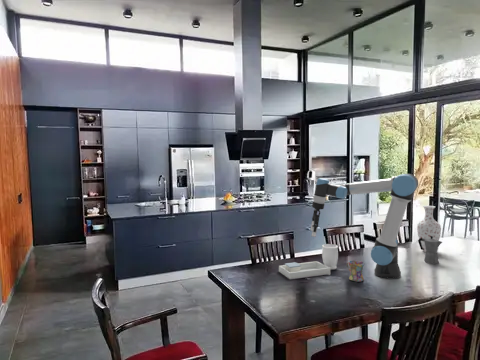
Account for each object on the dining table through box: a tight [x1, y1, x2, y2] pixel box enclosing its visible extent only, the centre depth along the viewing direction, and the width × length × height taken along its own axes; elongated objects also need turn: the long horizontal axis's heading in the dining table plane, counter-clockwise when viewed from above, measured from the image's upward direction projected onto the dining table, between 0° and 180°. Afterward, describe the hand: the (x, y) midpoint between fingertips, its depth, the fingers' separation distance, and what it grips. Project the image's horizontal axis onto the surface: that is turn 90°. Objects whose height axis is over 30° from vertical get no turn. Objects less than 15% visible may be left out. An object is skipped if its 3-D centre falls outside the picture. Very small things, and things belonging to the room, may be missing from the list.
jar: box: [321, 243, 339, 271], centre depth 231 cm, size 11×10×15 cm
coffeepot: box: [417, 236, 443, 264], centre depth 241 cm, size 15×9×18 cm, turn 44°
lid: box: [284, 261, 301, 268], centre depth 217 cm, size 8×8×1 cm
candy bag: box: [346, 259, 365, 282], centre depth 207 cm, size 12×9×11 cm
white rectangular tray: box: [278, 261, 331, 280], centre depth 220 cm, size 16×28×4 cm, turn 108°
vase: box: [416, 205, 442, 253], centre depth 267 cm, size 16×16×35 cm
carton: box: [284, 264, 300, 272], centre depth 217 cm, size 7×7×6 cm
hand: (312, 233), depth 226 cm, fingers open, 13 cm apart
